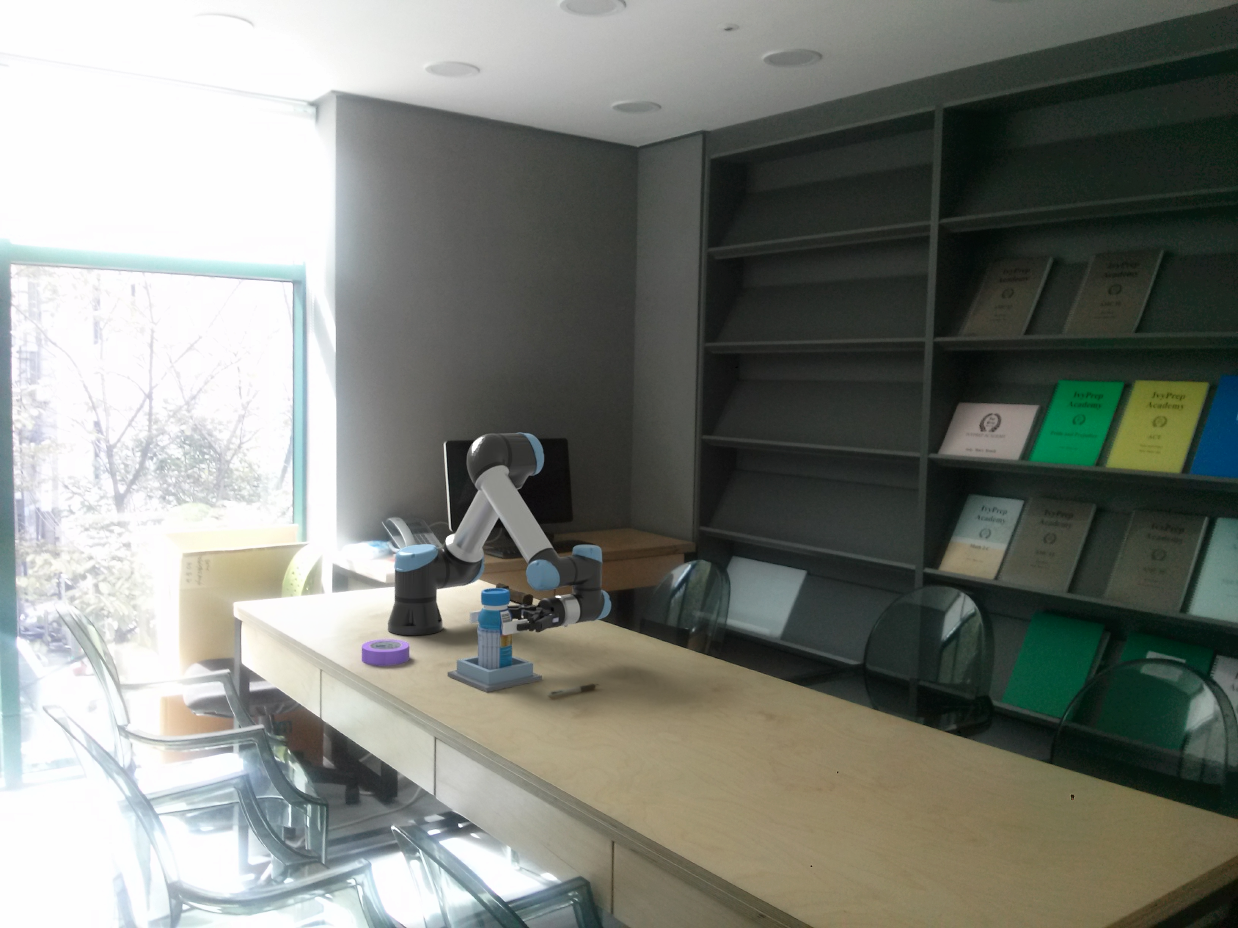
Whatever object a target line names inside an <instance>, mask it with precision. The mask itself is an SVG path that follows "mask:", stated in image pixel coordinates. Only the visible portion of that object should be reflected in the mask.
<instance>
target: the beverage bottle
mask: <svg viewBox="0 0 1238 928" xmlns="http://www.w3.org/2000/svg"><path fill="white" fill-rule="evenodd" d="M510 602H511V600H510V593H509V590H507V589H502V588H496V587H490V588H485V589H482V590H481V593H480V603H481V606H482V609H480V610H481V612H480V614H479V616H478V622H479V623H478V626H477V628H476V629H477V630H476V631H477V656H478V666H480V667H483V668H485V669H488V670H493V669H498V668H503V667H508V666H512V656H513V634H508V635H503V623H506V622H511V621H514V619H513V618H512V614H511V612H510V610H509V609H508V607H507V606H510Z"/></svg>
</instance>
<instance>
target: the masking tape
mask: <svg viewBox="0 0 1238 928" xmlns="http://www.w3.org/2000/svg"><path fill="white" fill-rule="evenodd" d="M409 660H410V643H409V642H408V641H404V640H402V639H390V638H387V639H386V638H385V639H374V640H369V641H367V642H366V641H365V642H364V643H363V644H362V645H361V662H362V663H363V664H367V665H371V666H395V665H400V664H403V663H406V662H408V661H409Z"/></svg>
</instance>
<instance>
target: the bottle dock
mask: <svg viewBox="0 0 1238 928" xmlns="http://www.w3.org/2000/svg"><path fill="white" fill-rule="evenodd" d="M447 677H449V678H451V679H453V680H456V681H458V682H461V683H463V684H466V685H468V686H470V687H473V688H475V689H478V690H480V691H483V692H485V693H489V692H493V691H498V690H502V689H507V688H508V689H509V688H511V687H516V686H520V685H526V684H529V683H533V682H538V681H543V675H541V674H538V673H536V672H534V662H532V661H529V660H526V659H523V658H520V657H518V656H514V655H512V666H508V667H503V668H498V669H493V670H488V669H485V668H483V667H480V666H478V655H476V656H470V657H465V658H460V659H456V670H452V671H447Z"/></svg>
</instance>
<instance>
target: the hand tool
mask: <svg viewBox="0 0 1238 928" xmlns="http://www.w3.org/2000/svg"><path fill="white" fill-rule="evenodd" d="M495 588H502V589H507V590H509V593H510V601H512V602H516V603H518V604H520V605H524V604H526V605H527V607H529V606H533V604H534V595H532V593H525V592H522V591H518V590H514V589H512V588H510V585H507V584H505V583H500V582H498V583H497V584H496V585H495Z"/></svg>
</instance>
